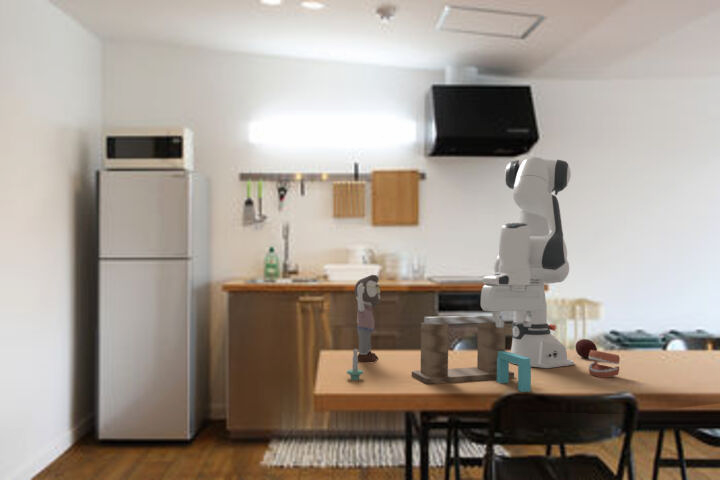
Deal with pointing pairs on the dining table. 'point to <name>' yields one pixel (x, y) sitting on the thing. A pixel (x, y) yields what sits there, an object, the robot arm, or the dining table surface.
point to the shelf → (437, 350)
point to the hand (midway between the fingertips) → (513, 327)
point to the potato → (585, 347)
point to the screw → (355, 367)
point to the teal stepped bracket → (523, 369)
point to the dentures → (601, 369)
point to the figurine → (366, 315)
